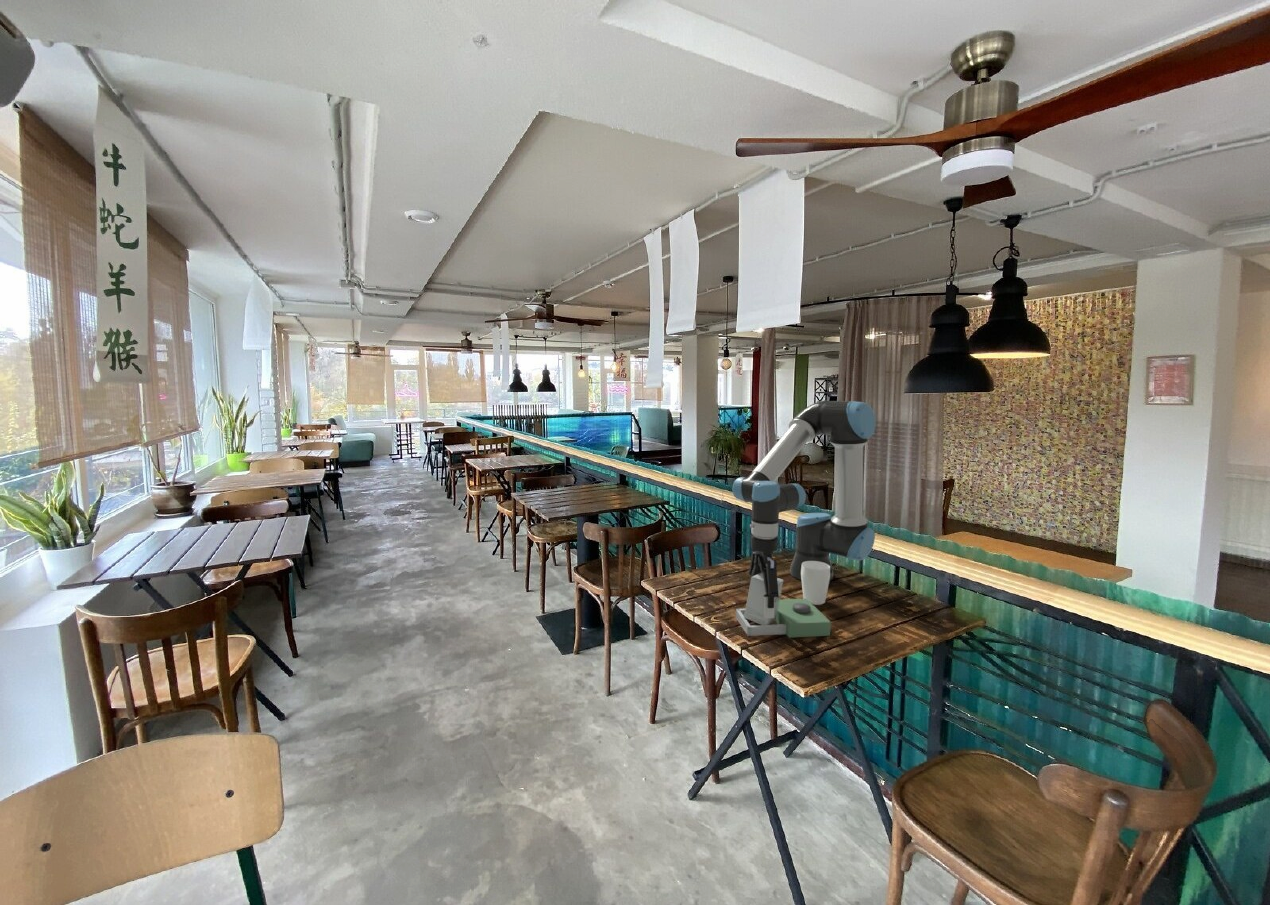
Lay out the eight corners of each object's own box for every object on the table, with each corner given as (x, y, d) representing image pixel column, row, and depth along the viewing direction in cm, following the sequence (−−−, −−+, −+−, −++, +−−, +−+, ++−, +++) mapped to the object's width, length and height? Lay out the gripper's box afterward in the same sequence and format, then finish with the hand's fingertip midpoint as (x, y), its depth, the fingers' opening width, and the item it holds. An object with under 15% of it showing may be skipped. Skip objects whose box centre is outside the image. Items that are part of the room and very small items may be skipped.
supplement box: (766, 627, 143) (775, 584, 142) (742, 617, 148) (750, 576, 146) (776, 620, 149) (784, 579, 148) (753, 611, 154) (760, 571, 152)
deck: (805, 610, 158) (806, 594, 158) (830, 635, 142) (831, 617, 142) (733, 613, 156) (733, 597, 155) (750, 639, 140) (750, 621, 140)
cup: (831, 607, 160) (833, 571, 159) (801, 605, 162) (802, 569, 161) (826, 596, 169) (828, 561, 168) (798, 594, 171) (799, 559, 170)
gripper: (739, 525, 156) (737, 593, 159) (765, 548, 134) (763, 628, 136) (763, 524, 157) (760, 592, 160) (793, 547, 134) (790, 626, 137)
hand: (761, 609), depth 148 cm, fingers open, 11 cm apart
